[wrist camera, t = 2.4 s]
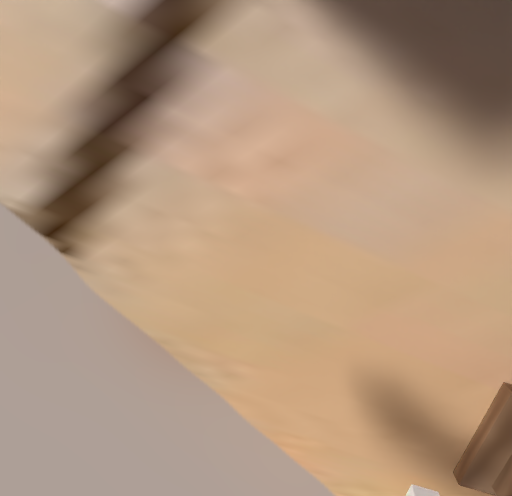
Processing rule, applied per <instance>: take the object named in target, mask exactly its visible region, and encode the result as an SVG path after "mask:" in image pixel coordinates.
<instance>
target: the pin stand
mask: <svg viewBox="0 0 512 496" xmlns="http://www.w3.org/2000/svg"><path fill="white" fill-rule="evenodd" d="M453 473H454V475H455V477H456V480H457V482H458V484H459V485H461V486H464V487H468V488H471V489H475V490H478V491H481V492H485V493H488V494H492V495H495V496H512V384H508V383H503V384H502V386H501V388H500V390H499V392H498V393H497V395H496V397H495V399H494V401H493V402H492V404H491V406H490V408H489V409H488V411H487V413H486V415H485V417H484V418H483V420H482V422H481V424H480V425H479V427H478V429H477V431H476V433H475V434H474V436H473V438H472V440H471V442H470V443H469V445H468V447H467V449H466V450H465V452H464V454H463V456H462V458H461V459H460V461H459V463H458V465H457V466H456V468H455V470H454V472H453Z"/></svg>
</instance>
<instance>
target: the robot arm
mask: <svg viewBox="0 0 512 496" xmlns="http://www.w3.org/2000/svg"><path fill="white" fill-rule="evenodd" d="M406 496H440V495H439V493H438V492H437V491H433V490H430V489H426V488H423V487H420V486H416V485H413V484H411V486H410V488H409V490H408V492H407V494H406Z"/></svg>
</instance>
